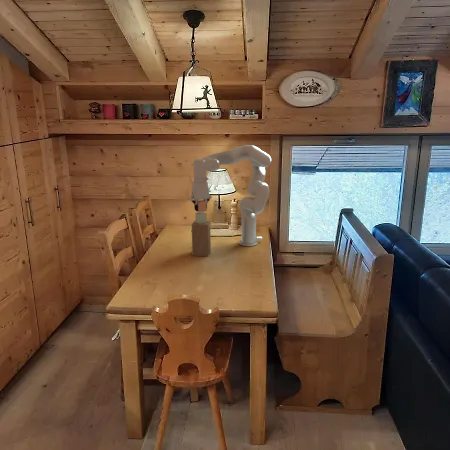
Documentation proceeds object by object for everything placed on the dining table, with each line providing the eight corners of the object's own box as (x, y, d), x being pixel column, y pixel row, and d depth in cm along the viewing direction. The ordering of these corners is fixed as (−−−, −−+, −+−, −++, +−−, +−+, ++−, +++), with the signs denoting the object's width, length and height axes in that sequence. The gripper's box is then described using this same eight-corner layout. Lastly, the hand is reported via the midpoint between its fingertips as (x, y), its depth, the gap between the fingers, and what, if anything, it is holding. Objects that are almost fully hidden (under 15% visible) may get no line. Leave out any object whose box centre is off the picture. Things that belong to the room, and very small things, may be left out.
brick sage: (202, 221, 258) (202, 211, 256) (206, 222, 253) (206, 213, 252) (195, 222, 255) (195, 212, 254) (199, 223, 251) (198, 214, 250)
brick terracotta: (202, 209, 256) (202, 199, 254) (206, 211, 251) (206, 201, 250) (195, 210, 253) (195, 200, 252) (198, 212, 249) (198, 202, 247)
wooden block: (210, 251, 264) (210, 220, 258) (208, 256, 254) (208, 224, 249) (195, 250, 265) (194, 220, 259) (192, 256, 255) (191, 224, 250)
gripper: (210, 178, 254) (210, 207, 259) (184, 180, 247) (185, 210, 252) (215, 180, 248) (216, 210, 253) (189, 182, 240) (190, 213, 245)
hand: (200, 209), depth 252 cm, fingers closed on brick terracotta, 4 cm apart
